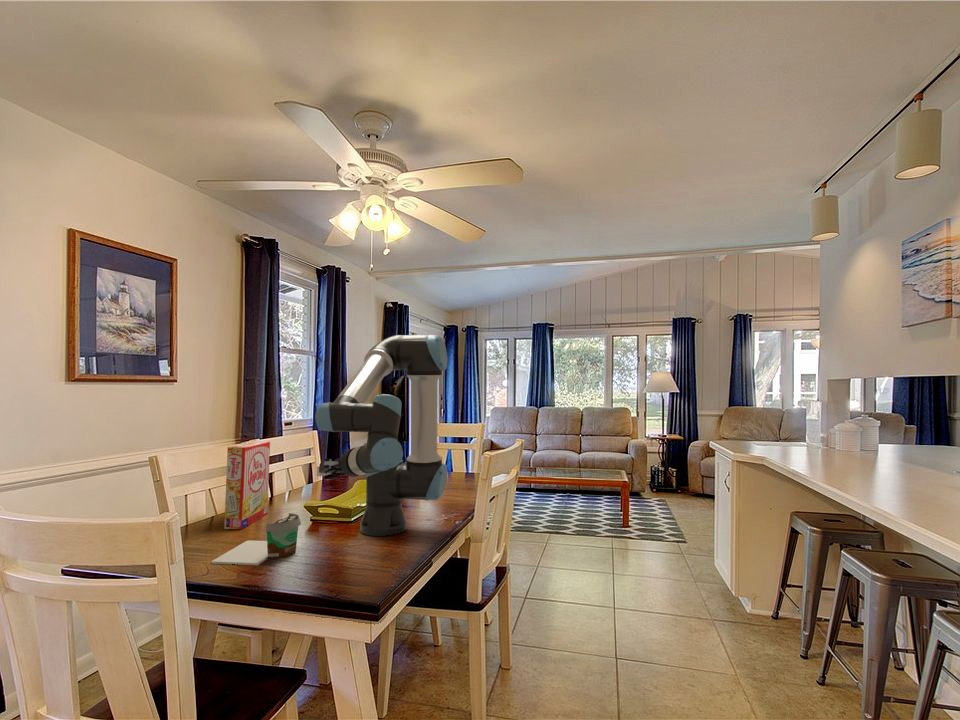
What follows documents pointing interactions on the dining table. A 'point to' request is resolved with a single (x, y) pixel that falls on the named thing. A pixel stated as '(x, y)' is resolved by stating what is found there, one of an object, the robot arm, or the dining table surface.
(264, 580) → the dining table surface
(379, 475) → the robot arm
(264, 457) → the board game box
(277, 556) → the food container
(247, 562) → the mat
